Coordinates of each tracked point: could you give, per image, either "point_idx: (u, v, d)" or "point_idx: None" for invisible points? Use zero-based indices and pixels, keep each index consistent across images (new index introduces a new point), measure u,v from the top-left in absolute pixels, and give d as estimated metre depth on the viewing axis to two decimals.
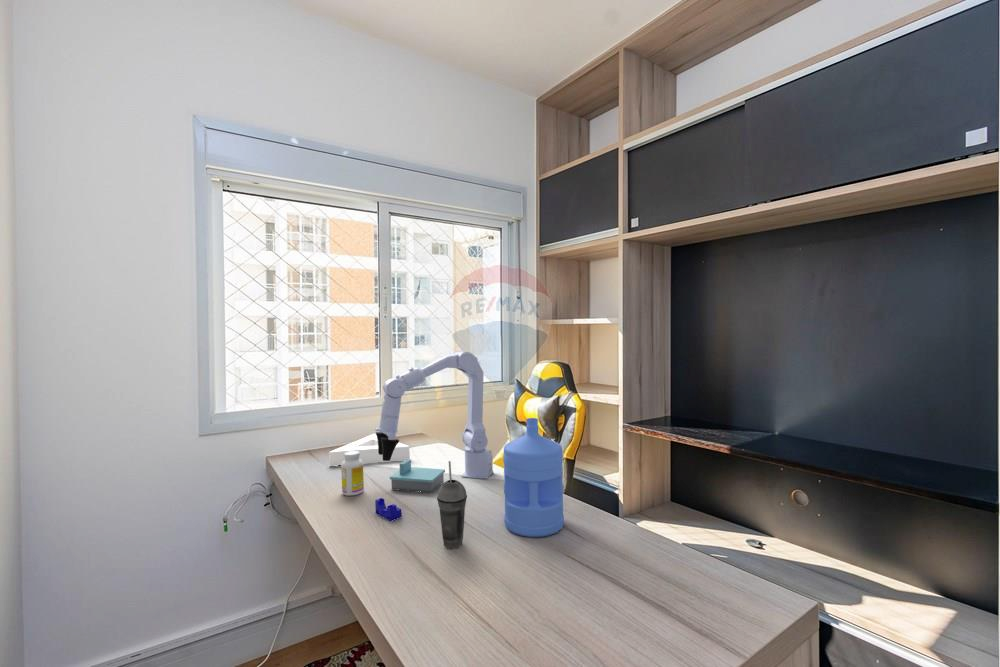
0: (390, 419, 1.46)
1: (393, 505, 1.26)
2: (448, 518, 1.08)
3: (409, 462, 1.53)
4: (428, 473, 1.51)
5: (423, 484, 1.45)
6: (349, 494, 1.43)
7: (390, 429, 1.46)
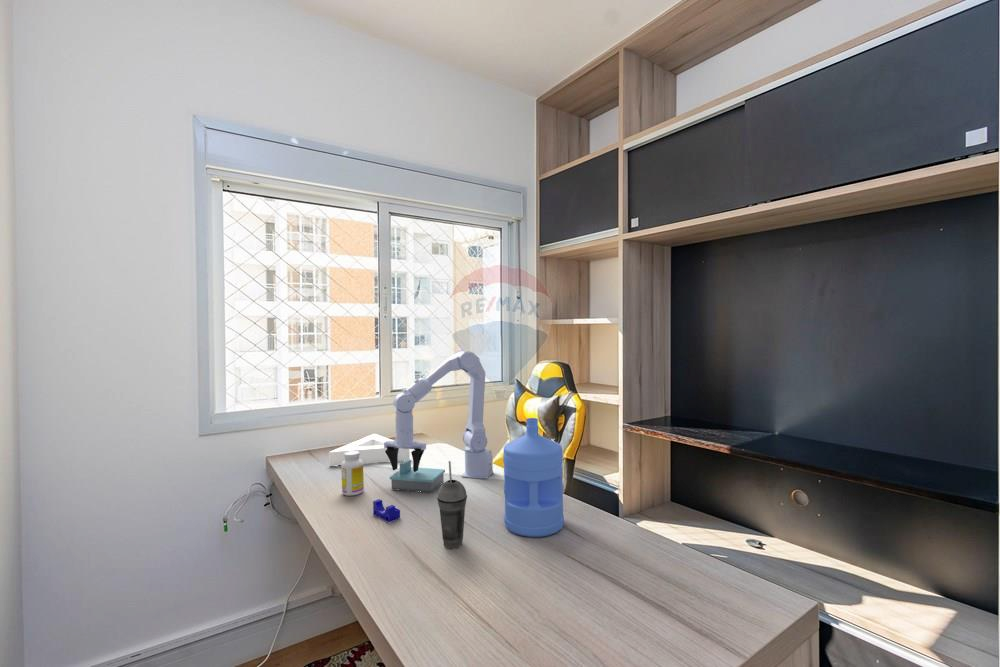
0: (411, 432, 1.51)
1: (392, 506, 1.25)
2: (448, 518, 1.08)
3: (409, 462, 1.53)
4: (428, 473, 1.51)
5: (423, 484, 1.45)
6: (349, 494, 1.43)
7: (412, 441, 1.52)
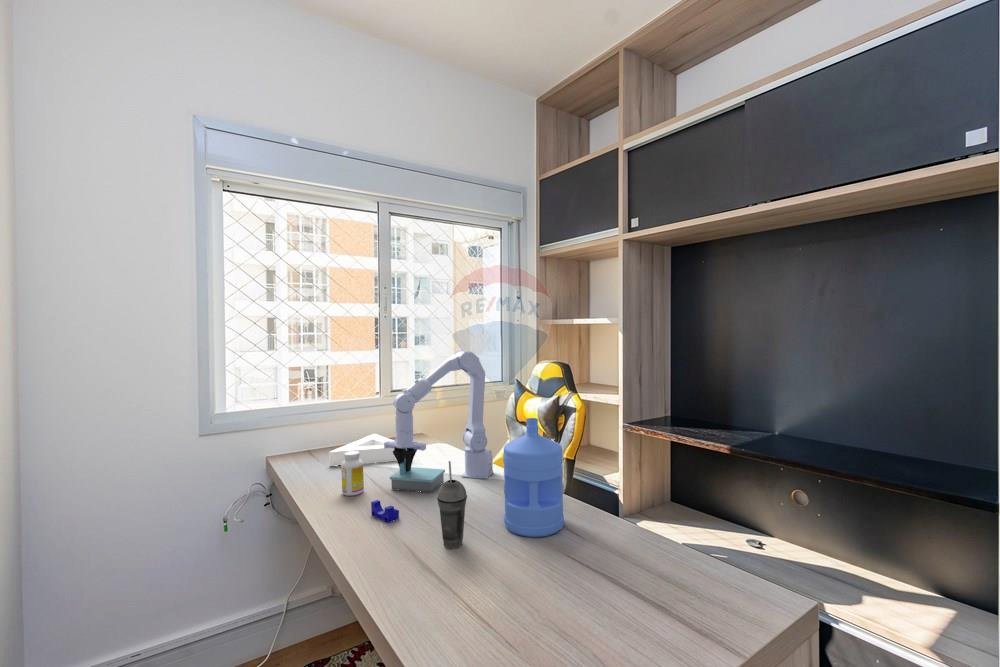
0: (411, 432, 1.51)
1: (390, 507, 1.25)
2: (448, 518, 1.08)
3: None
4: (428, 473, 1.51)
5: (423, 484, 1.45)
6: (349, 494, 1.43)
7: (412, 441, 1.52)
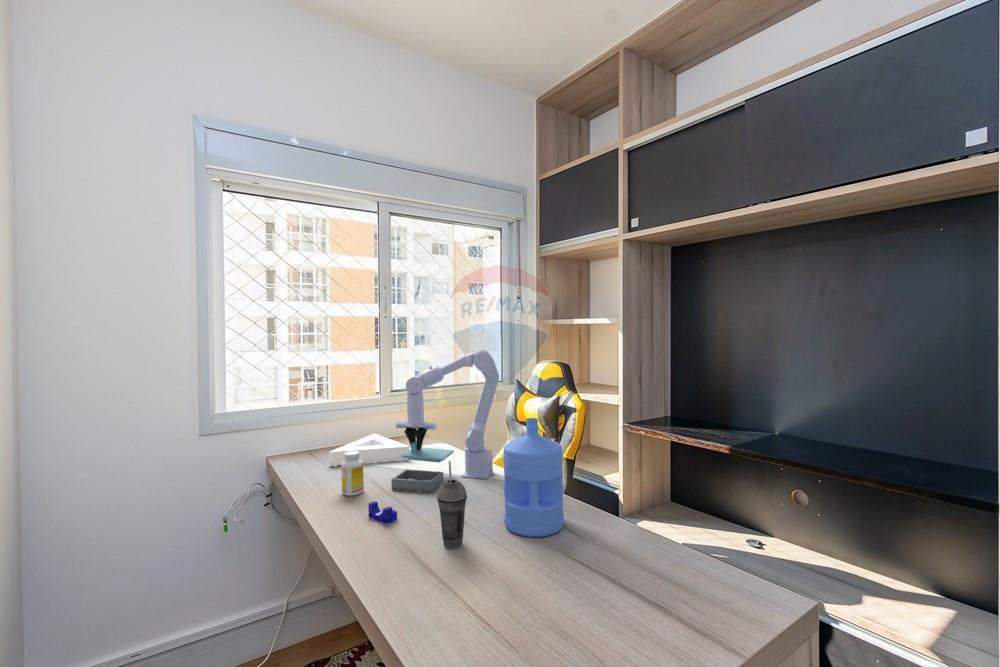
0: (422, 413, 1.59)
1: (389, 507, 1.24)
2: (448, 518, 1.08)
3: None
4: (438, 453, 1.59)
5: (423, 484, 1.45)
6: (349, 494, 1.43)
7: (423, 422, 1.60)
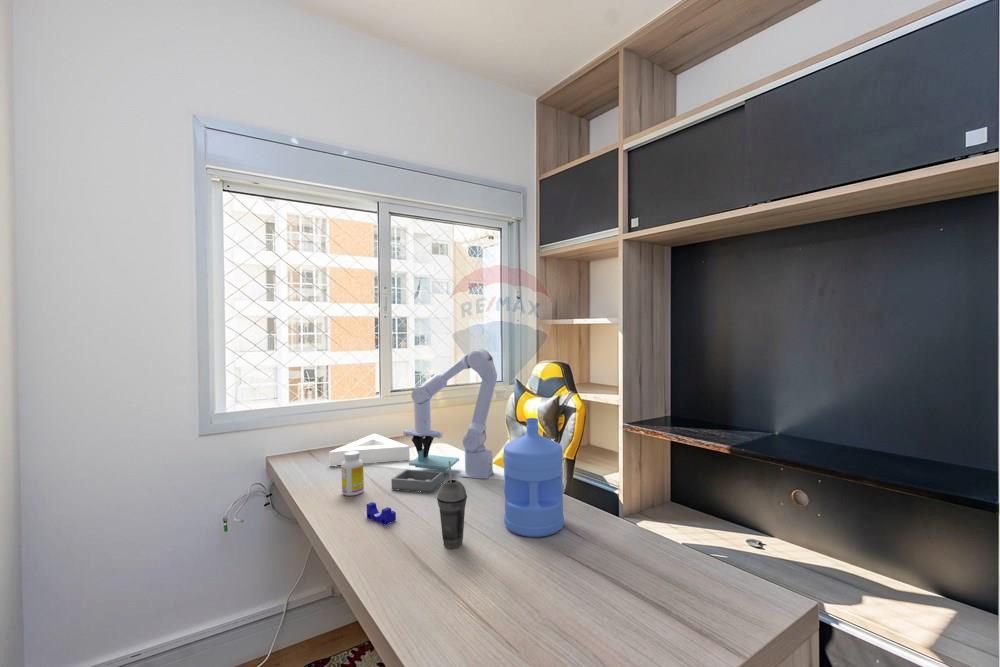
0: (429, 421, 1.65)
1: (388, 508, 1.24)
2: (448, 518, 1.08)
3: None
4: (444, 461, 1.64)
5: (423, 484, 1.45)
6: (349, 494, 1.43)
7: (430, 430, 1.65)
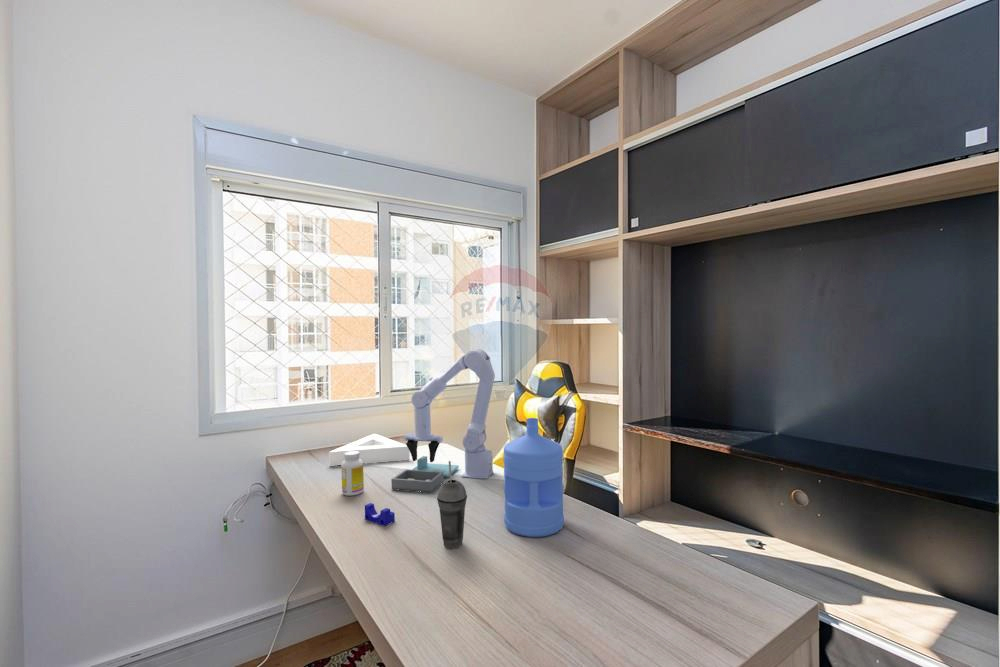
0: (429, 426, 1.65)
1: (386, 509, 1.23)
2: (448, 518, 1.08)
3: (426, 458, 1.67)
4: (443, 468, 1.64)
5: (423, 484, 1.45)
6: (349, 494, 1.43)
7: (430, 434, 1.65)
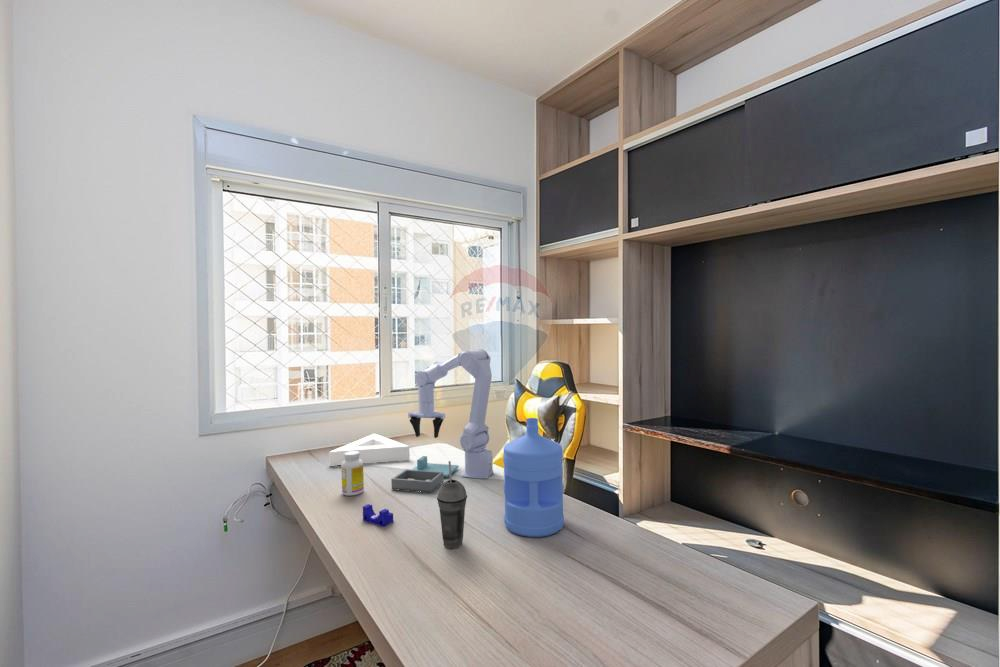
0: (432, 403, 1.74)
1: (385, 510, 1.23)
2: (448, 518, 1.08)
3: (426, 458, 1.67)
4: (443, 468, 1.64)
5: (423, 484, 1.45)
6: (349, 494, 1.43)
7: (433, 411, 1.74)
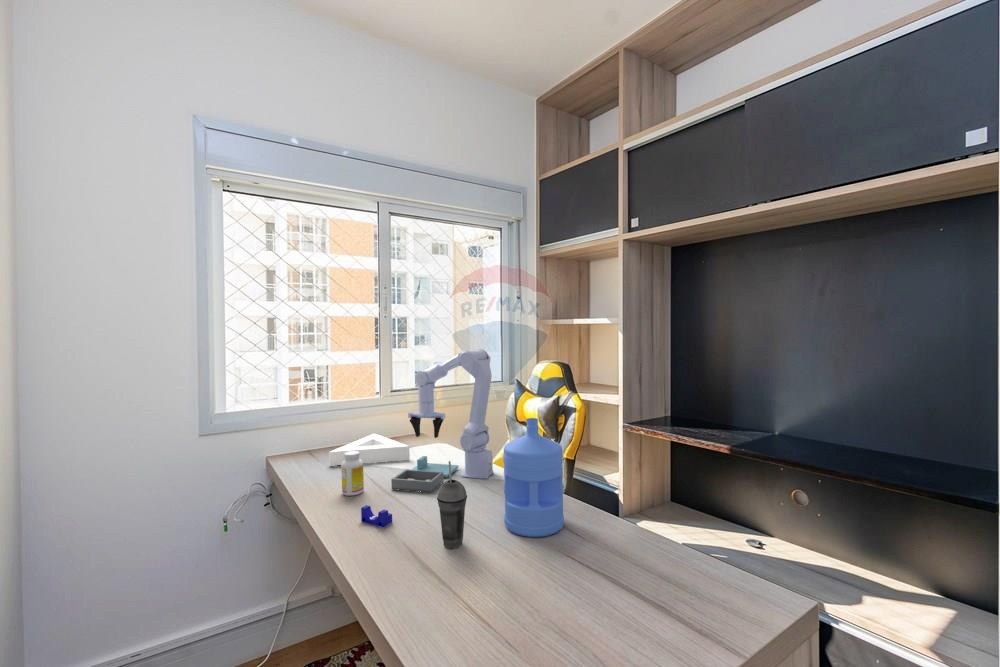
0: (432, 403, 1.74)
1: (384, 511, 1.22)
2: (448, 518, 1.08)
3: (425, 458, 1.67)
4: (443, 468, 1.64)
5: (423, 484, 1.45)
6: (349, 494, 1.43)
7: (433, 411, 1.74)
